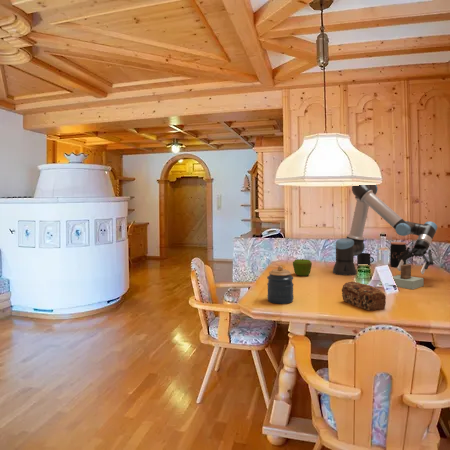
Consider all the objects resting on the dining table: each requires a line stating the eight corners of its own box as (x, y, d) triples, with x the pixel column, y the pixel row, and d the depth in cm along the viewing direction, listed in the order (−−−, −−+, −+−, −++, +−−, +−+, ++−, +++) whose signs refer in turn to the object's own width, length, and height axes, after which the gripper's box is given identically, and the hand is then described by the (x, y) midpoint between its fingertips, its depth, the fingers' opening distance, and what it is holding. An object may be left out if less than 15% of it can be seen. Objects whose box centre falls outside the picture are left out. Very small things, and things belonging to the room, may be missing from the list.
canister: (293, 297, 184) (293, 263, 183) (293, 304, 171) (292, 268, 170) (268, 296, 187) (268, 263, 185) (265, 303, 174) (265, 267, 173)
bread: (341, 301, 176) (341, 281, 176) (358, 299, 180) (358, 279, 179) (368, 312, 159) (368, 290, 158) (387, 309, 163) (387, 287, 162)
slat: (400, 285, 206) (400, 265, 206) (405, 284, 210) (406, 264, 209) (405, 286, 204) (405, 266, 203) (410, 285, 208) (411, 264, 207)
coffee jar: (390, 267, 265) (390, 243, 263) (389, 264, 274) (390, 241, 273) (406, 268, 260) (407, 243, 259) (405, 265, 270) (405, 242, 269)
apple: (289, 274, 244) (289, 257, 243) (305, 272, 248) (305, 256, 247) (298, 277, 232) (298, 260, 232) (315, 276, 236) (315, 259, 235)
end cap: (388, 285, 209) (388, 277, 208) (399, 281, 216) (399, 274, 216) (412, 289, 198) (412, 281, 197) (423, 286, 205) (423, 278, 205)
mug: (373, 267, 267) (373, 255, 266) (356, 265, 272) (356, 254, 272) (374, 265, 275) (374, 253, 274) (358, 264, 281) (358, 252, 280)
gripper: (447, 249, 208) (434, 278, 200) (404, 245, 228) (391, 271, 220) (443, 241, 204) (430, 270, 196) (400, 238, 224) (387, 264, 217)
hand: (409, 271), depth 208 cm, fingers open, 13 cm apart
